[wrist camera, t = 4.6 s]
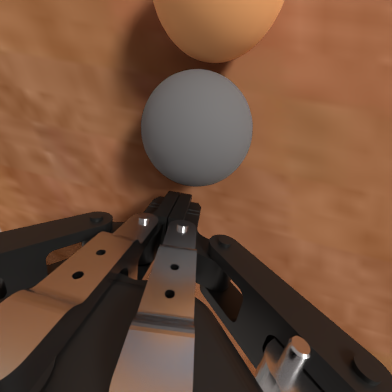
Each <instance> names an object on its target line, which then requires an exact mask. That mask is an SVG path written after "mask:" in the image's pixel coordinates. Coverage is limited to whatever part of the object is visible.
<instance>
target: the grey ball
mask: <svg viewBox="0 0 392 392" xmlns="http://www.w3.org/2000/svg"><path fill="white" fill-rule="evenodd" d="M252 127H253V124H252V116H251V112H250V109H249V106H248V103H247V101H246V99H245V97H244V96H243V94H242V93H241V91H240V90H239V89H238V88H237V86H236V85H235V84H233V83H232V82H231V81H230V80H229V79H227V78H226V77H224V76H222V75H220V74H218V73H216V72H213V71H210V70H204V69H190V70H185V71H181V72H178V73H175V74H173V75H171V76H169V77H168V78H167V79H165V80H164V81H163V82H161V83H160V84H159V85H158V86H157V87H156V88H155V89H154V91H153V92H152V94H151V95H150V97H149V99H148V101H147V103H146V105H145V108H144V111H143V115H142V120H141V135H142V141H143V145H144V148H145V151H146V153H147V155H148V157H149V159H150V160H151V162H152V163H153V165H154V166H155V167H156V168H157V169H158V170H159V171H160V172H161V173H162V174H163V175H164V176H166V177H167V178H169V179H170V180H172V181H174V182H177V183H179V184H183V185H187V186H206V185H211V184H214V183H217V182H219V181H221V180H223V179H225V178H226V177H228V176H229V175H230V174H232V173H233V172H234V171H235V170H236V169H237V168H238V167H239V166H240V164H241V163H242V161H243V160H244V158H245V156H246V154H247V152H248V150H249V147H250V143H251V139H252Z"/></svg>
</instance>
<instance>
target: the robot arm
mask: <svg viewBox="0 0 392 392" xmlns="http://www.w3.org/2000/svg"><path fill="white" fill-rule="evenodd" d="M191 199H192V195H190V194H184V193H181V194H180V193H179V192H173V191H169V192H168V193H167V195H166V196H165V197H160V196H159V197H157V198H155V199H154V200H153V201H152V202H151V203H150V205H149V206H148V207H147V209H146V210H145V211H144V212H143V213H137V214H134V215H132V216H131V217H130V218H129V219H128V220H127V221H126V222H113V217H112V215H110V214H109V213H106V212H91V213H86V214H82V215H77V216H73V217H68V218H64V219H59V220H54V221H50V222H45V223H41V224H36V225H32V226H27V227H23V228H18V229H14V230H9V231H5V232H0V392H392V375H391V374H390V372H389V371H388V370H387V369H386V367H385V366H384V365H383V364H382V363H381V362H380V361H379V360H377V359H376V358H375V357H374V356H373V355H372V354H371V353H369V352H368V351H367V350H366V349H365V348H363V347H362V346H361V345H360V344H359V343H357V342H356V341H355V340H354V339H353V338H351V337H350V336H349V335H348V334H347V333H345V332H344V331H343V330H342V329H341V328H340V327H338V326H337V325H336V324H335V323H334V322H332V321H331V320H330V319H329V318H328V317H326V316H325V315H324V314H323V313H322V312H320V311H319V310H318V309H317V308H316V307H315V306H313V305H312V304H311V303H310V302H309V301H307V300H306V299H305V298H304V297H303V296H301V295H300V294H299V293H298V292H297V291H295V290H294V289H293V288H292V287H291V286H289V285H288V284H287V283H286V282H285V281H284V280H282V279H281V278H280V277H279V276H278V275H276V274H275V273H274V272H273V271H272V270H270V269H269V268H268V267H267V266H266V265H264V264H263V263H262V262H261V261H260V260H258V259H257V258H256V257H255V256H254V255H253V254H251V253H250V252H249V251H248V250H247V249H245V248H244V247H243V246H242V245H241V244H239V243H238V242H237V241H236V240H235V239H233V238H231V237H229V236H226V235H214V236H212V237H211V238H210V239H207V238H205V237H203V236H202V235H200V234H199V232H198V231H197V227H198V221H199V216H200V210H201V207H200V205H199V204H198V203H193V202H191ZM79 242H82V248H80V249H79V250H78V251H77V252H76V253H74V254H73V255H72V256H71V257H70V258H68V259H65V260H62V261H59V262H57V263H54V264H51V265H46V257H47V255H48V254H49V253H50V252H52V251H54V250H57V249H60V248H63V247H66V246H69V245H73V244H76V243H79ZM149 274H150V275H149ZM148 276H149V278H148V280H146V279H147V277H148ZM231 279H232V281H233V282H234V283H235V284H236V285H237V286H238V287H239V288H240V290H241V292H242V294H241V293H240V292H239V291H238V290H237V288H236V287H235V286H234V285H233V284H232V283H231V282H230V280H231ZM195 282H196V283H198V284H200V290H201V292H202V294H203V295H204V297H205V298H206V300H207V301H208V302H209V304H210V305H211V307H212V308H213V309H214V311H215V312H216V314H217V315H218V316H219V318H220V319H221V321H222V322H223V323H224V325H225V326H226V328H227V329H228V330H229V332H230V333H231V335H232V336H233V337H234V339H235V340H236V342H237V343H238V344H239V346H240V347H241V349H242V350H243V351H244V353H245V354H246V356H247V357H248V358H249V360H250V361H251V363H252V364H253V365H254V367H255V368H256V379H255V378H254V376H253V375H252V373H251V371H250V370H249V368H248V367H247V365H246V364H245V362H244V361H243V359H242V358H241V356H240V355H239V353H238V351H237V350H236V348H235V347H234V345H233V344H232V342H231V341H230V339H229V338H228V336H227V335H226V333H225V332H224V330H223V328H222V327H221V325H220V324H219V322H218V321H217V319H216V318H215V316H214V315H213V313H212V312H211V311H210V310H209V308H208V307H207V306H206V305H205V304H204V303H203V302H201V301H200V300H199V299H197V298H196V297H195Z"/></svg>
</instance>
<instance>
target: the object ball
mask: <svg viewBox="0 0 392 392" xmlns="http://www.w3.org/2000/svg"><path fill="white" fill-rule="evenodd" d="M283 2H284V0H153V3H154V6H155V9H156V12H157V15H158V18H159V20H160V22H161V24H162V26H163V28H164V30H165V31H166V33H167V35H168V36H169V37H170V39H171V40H172V41H173V42H174V44H175V45H176V46H177V47H178V48H179V49H181V50H182V51H183V52H184V53H186V54H187V55H188V56H190V57H192V58H194V59H197V60H199V61H202V62H207V63H223V62H227V61H231V60H233V59H236V58H238V57H240V56H242V55H244V54H245V53H247V52H248V51H250V50H251V49H252V48H253V47H254V46H255V45H256V44H257V43H258V42H259V41H260V40H261V39H262V38H263V37H264V36H265V35H266V33H267V32H268V31H269V29H270V28H271V26H272V24H273V23H274V21H275V20H276V18H277V16H278V14H279V12H280V10H281V8H282V5H283Z"/></svg>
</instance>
